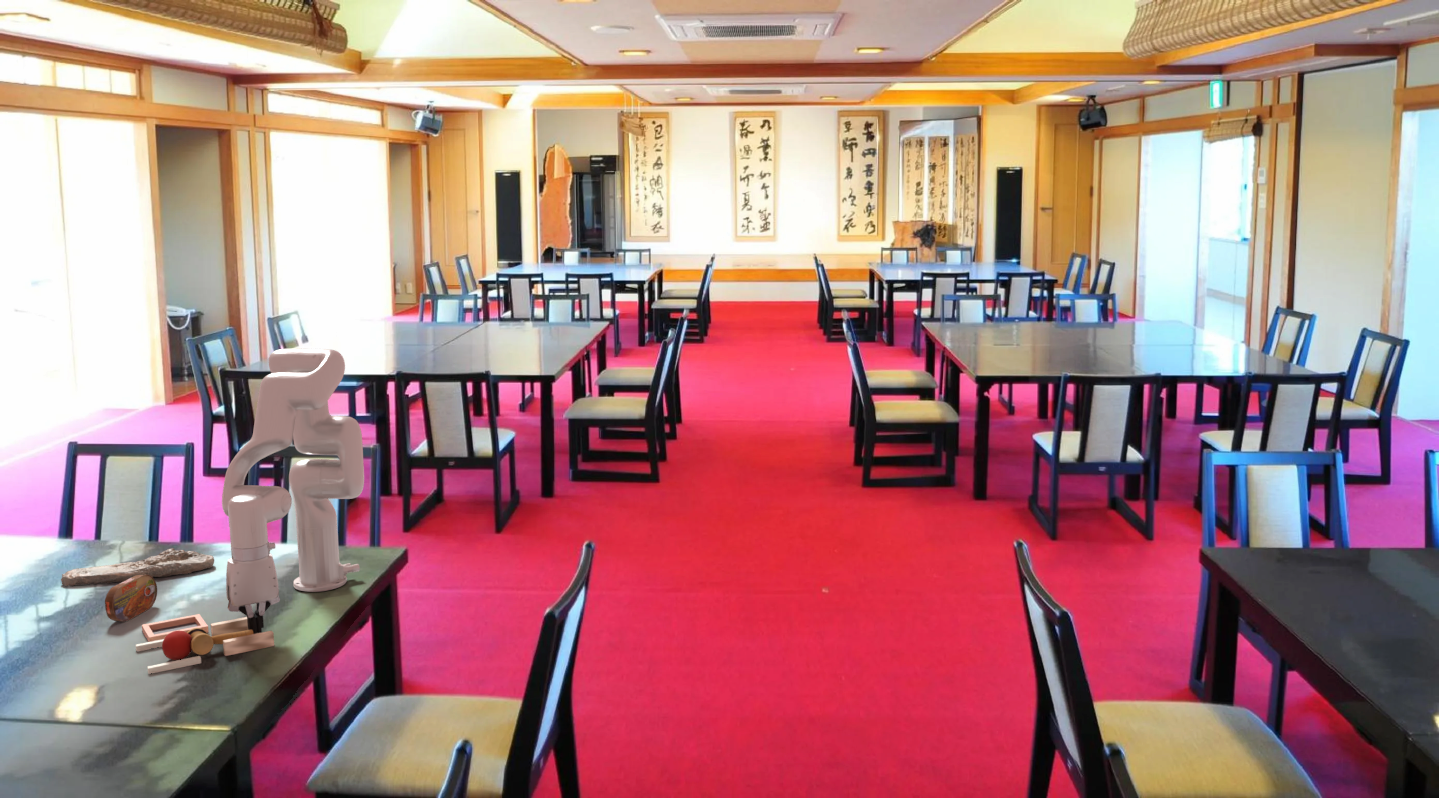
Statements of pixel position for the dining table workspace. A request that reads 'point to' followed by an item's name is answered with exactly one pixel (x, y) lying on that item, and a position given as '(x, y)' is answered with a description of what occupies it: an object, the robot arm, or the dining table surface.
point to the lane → (242, 642)
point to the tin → (131, 598)
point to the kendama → (194, 642)
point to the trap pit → (172, 627)
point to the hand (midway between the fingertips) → (256, 631)
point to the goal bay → (169, 664)
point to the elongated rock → (141, 568)
